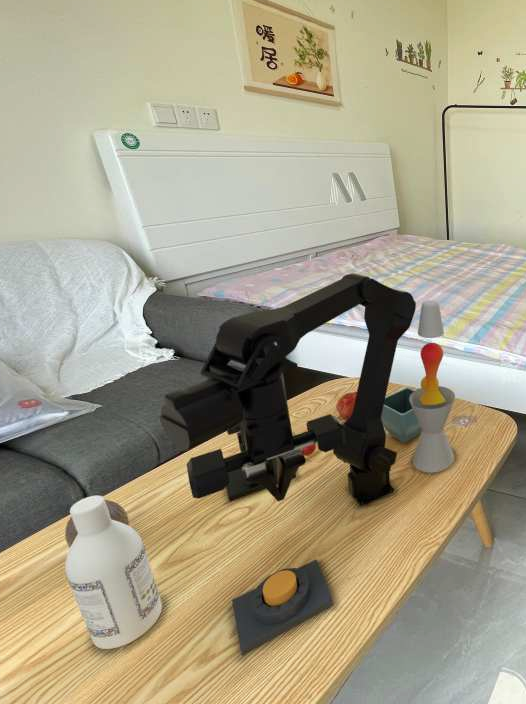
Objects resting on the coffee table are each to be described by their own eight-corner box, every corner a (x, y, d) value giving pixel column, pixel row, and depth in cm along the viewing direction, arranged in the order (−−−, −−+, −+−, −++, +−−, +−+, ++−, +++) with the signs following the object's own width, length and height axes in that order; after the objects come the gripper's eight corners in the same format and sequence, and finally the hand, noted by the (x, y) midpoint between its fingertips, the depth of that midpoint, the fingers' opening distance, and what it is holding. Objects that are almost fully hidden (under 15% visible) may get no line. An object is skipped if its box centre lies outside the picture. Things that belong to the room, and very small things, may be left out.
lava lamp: (461, 465, 90) (462, 306, 79) (418, 478, 86) (413, 312, 74) (446, 441, 98) (445, 292, 86) (406, 452, 93) (399, 297, 82)
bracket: (286, 453, 91) (280, 415, 88) (296, 477, 84) (290, 437, 81) (223, 474, 84) (214, 433, 81) (229, 502, 78) (220, 459, 75)
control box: (317, 565, 67) (315, 550, 66) (333, 605, 61) (331, 589, 60) (233, 606, 60) (229, 590, 59) (242, 655, 54) (238, 639, 53)
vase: (97, 569, 64) (80, 523, 61) (60, 559, 66) (42, 513, 63) (144, 532, 71) (131, 489, 68) (110, 524, 72) (95, 481, 69)
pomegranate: (336, 436, 101) (367, 418, 98) (319, 410, 100) (349, 391, 97) (355, 422, 108) (384, 404, 105) (338, 398, 107) (367, 379, 104)
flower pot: (408, 418, 105) (407, 386, 102) (434, 432, 100) (433, 398, 97) (378, 435, 98) (375, 401, 95) (404, 451, 94) (402, 415, 91)
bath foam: (156, 589, 62) (120, 475, 55) (169, 621, 58) (132, 502, 51) (89, 625, 57) (40, 504, 50) (98, 664, 53) (47, 538, 46)
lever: (309, 451, 91) (316, 437, 91) (314, 459, 89) (320, 445, 89) (241, 446, 82) (247, 430, 82) (243, 455, 80) (250, 439, 80)
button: (293, 574, 62) (292, 565, 62) (300, 595, 60) (298, 586, 59) (262, 589, 60) (260, 580, 59) (267, 612, 57) (265, 602, 57)
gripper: (318, 367, 70) (328, 447, 75) (172, 403, 59) (197, 494, 64) (341, 396, 62) (351, 483, 67) (178, 445, 51) (205, 545, 56)
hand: (280, 498), depth 64 cm, fingers closed
